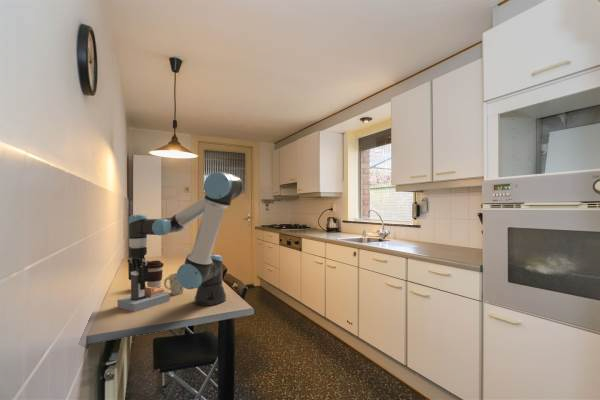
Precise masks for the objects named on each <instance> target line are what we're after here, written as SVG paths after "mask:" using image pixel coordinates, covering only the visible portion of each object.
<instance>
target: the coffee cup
mask: <svg viewBox="0 0 600 400" xmlns="http://www.w3.org/2000/svg"><path fill="white" fill-rule="evenodd" d="M148 261H149V264H148V281H147V282H146V286H148V287H153V288H155V287H156V288H161V287H162V279H163V267H164V262H162V261H161V260H148Z"/></svg>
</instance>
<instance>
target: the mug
mask: <svg viewBox="0 0 600 400" xmlns="http://www.w3.org/2000/svg"><path fill="white" fill-rule="evenodd" d="M168 281H169V286H168V285H167V282H168ZM163 286H164V287H165V288H166V289H167V290H170V295H174V296H175V295H177V296H178V295H181V294H184V291H185V290H184V289H185V288H184V287H182V286H181V285H180V284H179V281H178V280H177V272H175V273H171V274H169V275H168V277H166V278H165V279H164V281H163Z"/></svg>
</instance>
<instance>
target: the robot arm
mask: <svg viewBox="0 0 600 400" xmlns="http://www.w3.org/2000/svg"><path fill="white" fill-rule="evenodd" d="M203 190H204V193H205V194H204V196H203V197H201V198H200V199H198V200H196V201H195V202H194V203H192V204H191V205H189V206H187V207H185V208H184V209H182V210H180V211H178V213H176V214H174V215H173V216H171V217H165V218H147V215H146V214H131V215H130V216H129V218H128V231H129V232H128V234H129V235H128V236H129V237H128V246H129V249H128V255H129V256H130V257H131V258H128V259H127V264H128V265H127V267H128V268H127V271H128V281H129V280H130V281H131V272H134V271H137V269H138V273H139V275H138V276H139V282H138V297H142V296H145V286H146V283H147V281H148V264H149V261H150V260H146V257H145V256H146V255H148V253H147V252H148V247H147V243H148V242H147V241H148V238H147V237H148V235H149V236H152V235H153V236H165V235H166V236H167V235H168V234H171V233H172V234H173V233H178V232H182V231H183V230H184V229H185V227H186V226H187V225H190V224H191V223H192V222H194V221H196V220H197V219H199V218H201V220H200V223H199V227H198V231H197V233H196V237H195V239H194V244H193V246H192V249H191V252H190V253H188V254H187V255H186V257H185V260H184V263H183V264H181V265H180V266H179V267H178V269H177V271H176V273H177V280H178V281H179V284H180V285H181V286H182V287H184V289H185V290H194V289H197V290H196V293H195V296H194V304H195V305H197V306H213V305H219V304H221V303H224V302H225V301H227V293H226V291H225V289H224V286H223V257H222V255H221V254H212V253H213V250H214V246H215V243H216V240H217V237H218V234H219V231H220V227H221V223H222V221H223V218H224V214H225V211H226V209H227V208H228V207H230V206H231V203H232V201H233V200H236V199H237V198H238V197H239V196H240V195H241V194H242V193H243V190H244V184H243V181H242V178H240V177H239V176H237V175H236V174H233V173H227V172H224V171H216V172H215V171H214V172H212V173H210V174H208V176H207V177H206V178H205V180H204V182H203Z"/></svg>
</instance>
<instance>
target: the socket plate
mask: <svg viewBox="0 0 600 400" xmlns="http://www.w3.org/2000/svg"><path fill="white" fill-rule="evenodd" d="M170 299H171V293H167V291H164V292H162V293H159V294H155V295H152V296H148V295H145V299H142V300H138V301H134V300H131V295H130V296H126V297H122V298H118V299H117V301H116V302H117V308H120V309H124V310H127V311H129V312H134V313H136V312H139V311H143V310H146V309H150V308H152V307H155V306H158V305H162V304H164V303H167V302H170Z"/></svg>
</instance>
